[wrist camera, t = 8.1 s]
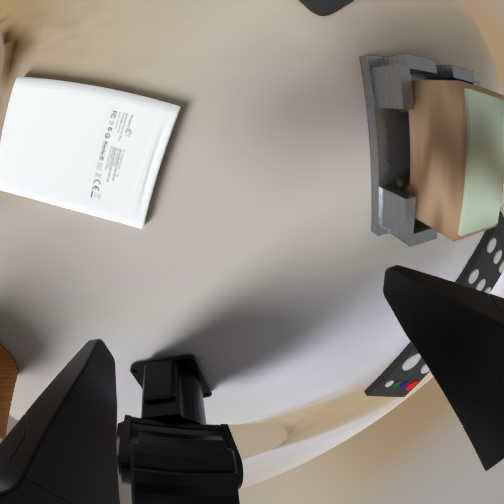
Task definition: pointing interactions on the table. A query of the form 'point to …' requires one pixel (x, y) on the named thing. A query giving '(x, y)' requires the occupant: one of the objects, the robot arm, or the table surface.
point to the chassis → (397, 138)
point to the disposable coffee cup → (6, 387)
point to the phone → (324, 6)
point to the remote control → (473, 275)
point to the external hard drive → (84, 147)
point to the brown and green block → (456, 156)
